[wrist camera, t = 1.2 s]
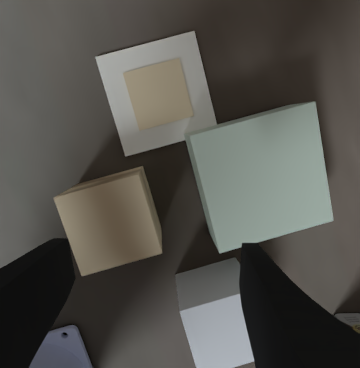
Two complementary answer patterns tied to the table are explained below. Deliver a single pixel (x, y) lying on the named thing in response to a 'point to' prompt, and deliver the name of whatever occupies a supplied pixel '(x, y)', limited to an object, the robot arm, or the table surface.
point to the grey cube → (214, 315)
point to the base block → (261, 175)
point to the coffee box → (350, 320)
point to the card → (157, 92)
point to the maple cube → (110, 221)
